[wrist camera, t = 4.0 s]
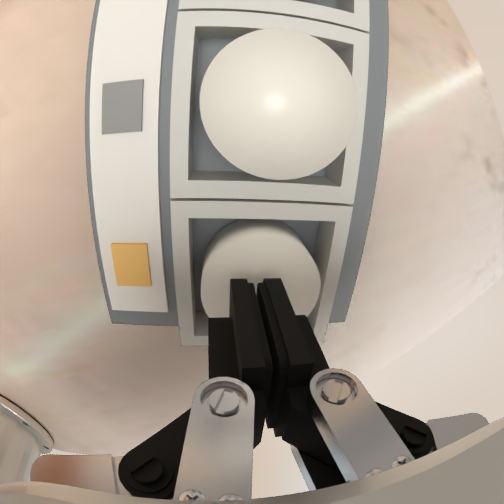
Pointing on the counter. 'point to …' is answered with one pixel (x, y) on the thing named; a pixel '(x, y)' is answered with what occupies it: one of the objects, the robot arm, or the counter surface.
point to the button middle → (278, 104)
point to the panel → (215, 153)
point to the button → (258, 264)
